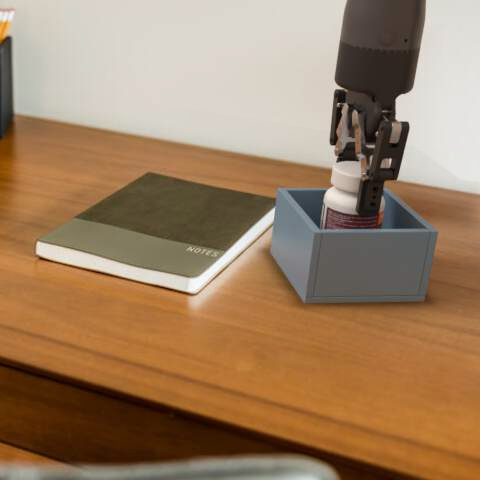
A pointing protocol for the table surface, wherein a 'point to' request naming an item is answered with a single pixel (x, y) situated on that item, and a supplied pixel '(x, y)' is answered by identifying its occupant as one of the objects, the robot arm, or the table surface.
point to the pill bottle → (347, 200)
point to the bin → (352, 251)
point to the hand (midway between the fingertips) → (354, 202)
